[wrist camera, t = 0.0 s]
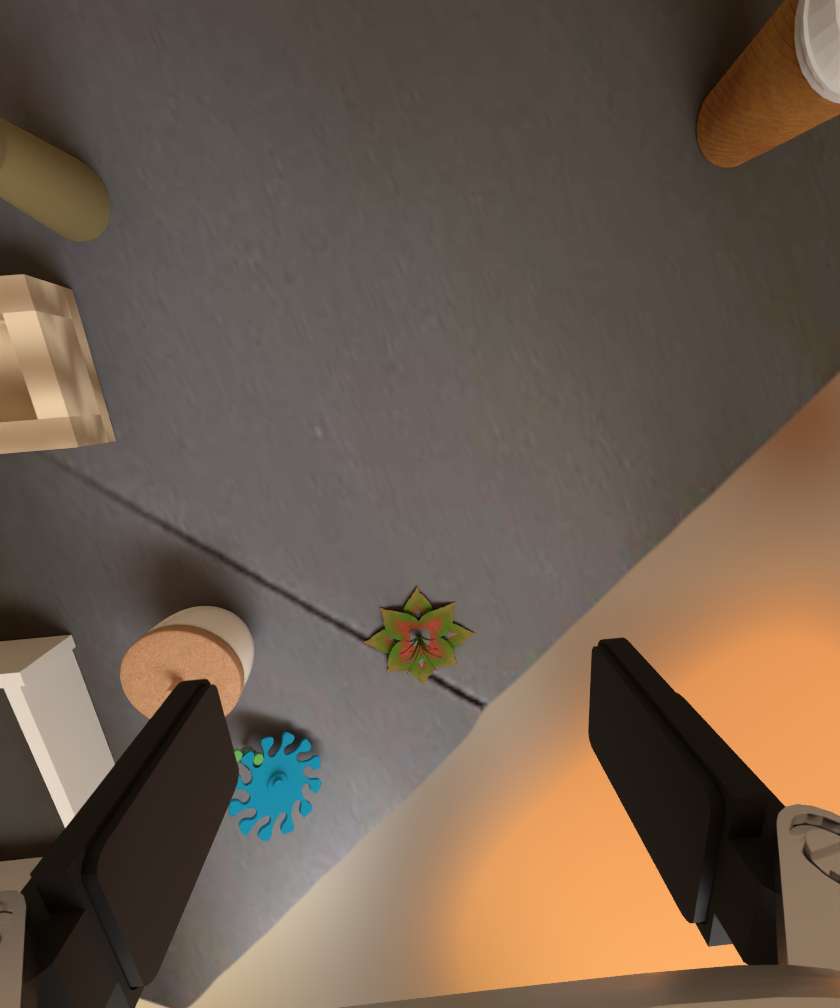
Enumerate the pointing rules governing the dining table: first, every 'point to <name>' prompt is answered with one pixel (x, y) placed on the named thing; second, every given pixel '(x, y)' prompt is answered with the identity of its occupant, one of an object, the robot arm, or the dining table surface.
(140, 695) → the lidded jar
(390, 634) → the lily flower
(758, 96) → the disposable coffee cup
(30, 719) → the white rectangular frame
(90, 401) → the caddy
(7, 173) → the cork
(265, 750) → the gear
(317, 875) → the dining table surface
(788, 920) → the robot arm
